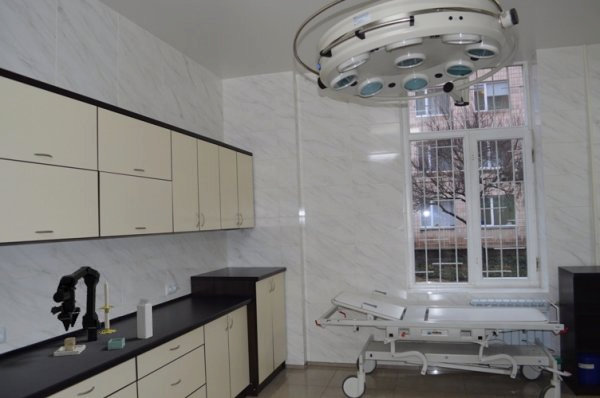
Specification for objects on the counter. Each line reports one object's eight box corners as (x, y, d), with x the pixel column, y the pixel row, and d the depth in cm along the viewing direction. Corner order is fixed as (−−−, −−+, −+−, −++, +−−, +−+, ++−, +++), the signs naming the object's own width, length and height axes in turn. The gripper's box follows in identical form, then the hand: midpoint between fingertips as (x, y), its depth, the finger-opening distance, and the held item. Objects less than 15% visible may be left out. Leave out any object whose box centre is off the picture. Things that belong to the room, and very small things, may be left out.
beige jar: (67, 349, 243) (67, 338, 243) (75, 348, 243) (75, 337, 244) (64, 351, 239) (64, 340, 239) (72, 350, 239) (72, 339, 240)
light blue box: (111, 346, 250) (110, 339, 250) (124, 344, 251) (124, 337, 251) (108, 349, 243) (107, 342, 243) (122, 348, 244) (122, 341, 244)
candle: (119, 330, 287) (118, 278, 288) (107, 334, 277) (106, 280, 279) (107, 329, 290) (106, 278, 292) (94, 333, 281) (93, 280, 283)
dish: (61, 350, 246) (61, 346, 246) (85, 348, 248) (85, 344, 248) (53, 356, 234) (53, 352, 234) (78, 354, 236) (78, 350, 236)
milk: (144, 335, 271) (143, 298, 272) (152, 336, 269) (151, 298, 270) (137, 338, 265) (136, 300, 266) (145, 338, 263) (144, 300, 264)
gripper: (58, 297, 250) (59, 326, 249) (46, 303, 232) (46, 334, 231) (80, 296, 252) (81, 324, 251) (69, 302, 234) (70, 332, 233)
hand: (69, 329), depth 242 cm, fingers open, 9 cm apart
